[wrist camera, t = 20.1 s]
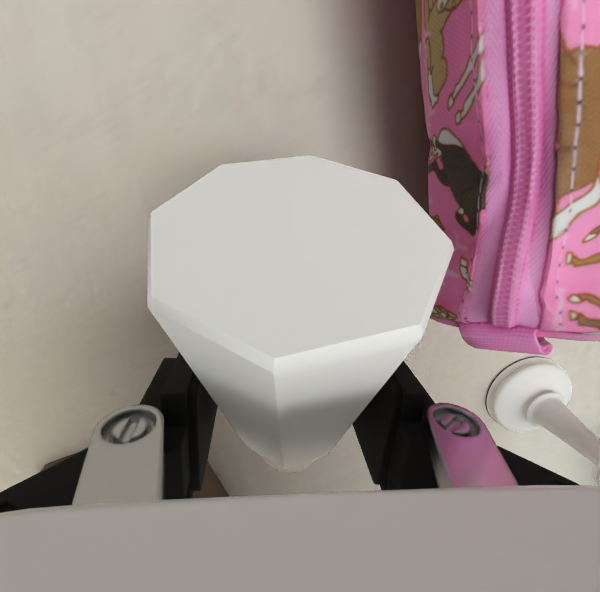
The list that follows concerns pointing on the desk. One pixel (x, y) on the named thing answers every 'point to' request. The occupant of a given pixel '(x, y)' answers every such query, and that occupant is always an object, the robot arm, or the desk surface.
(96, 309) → the desk surface
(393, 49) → the desk surface
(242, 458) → the desk surface
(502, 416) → the chess piece
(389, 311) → the pepper shaker
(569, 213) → the pencil case
